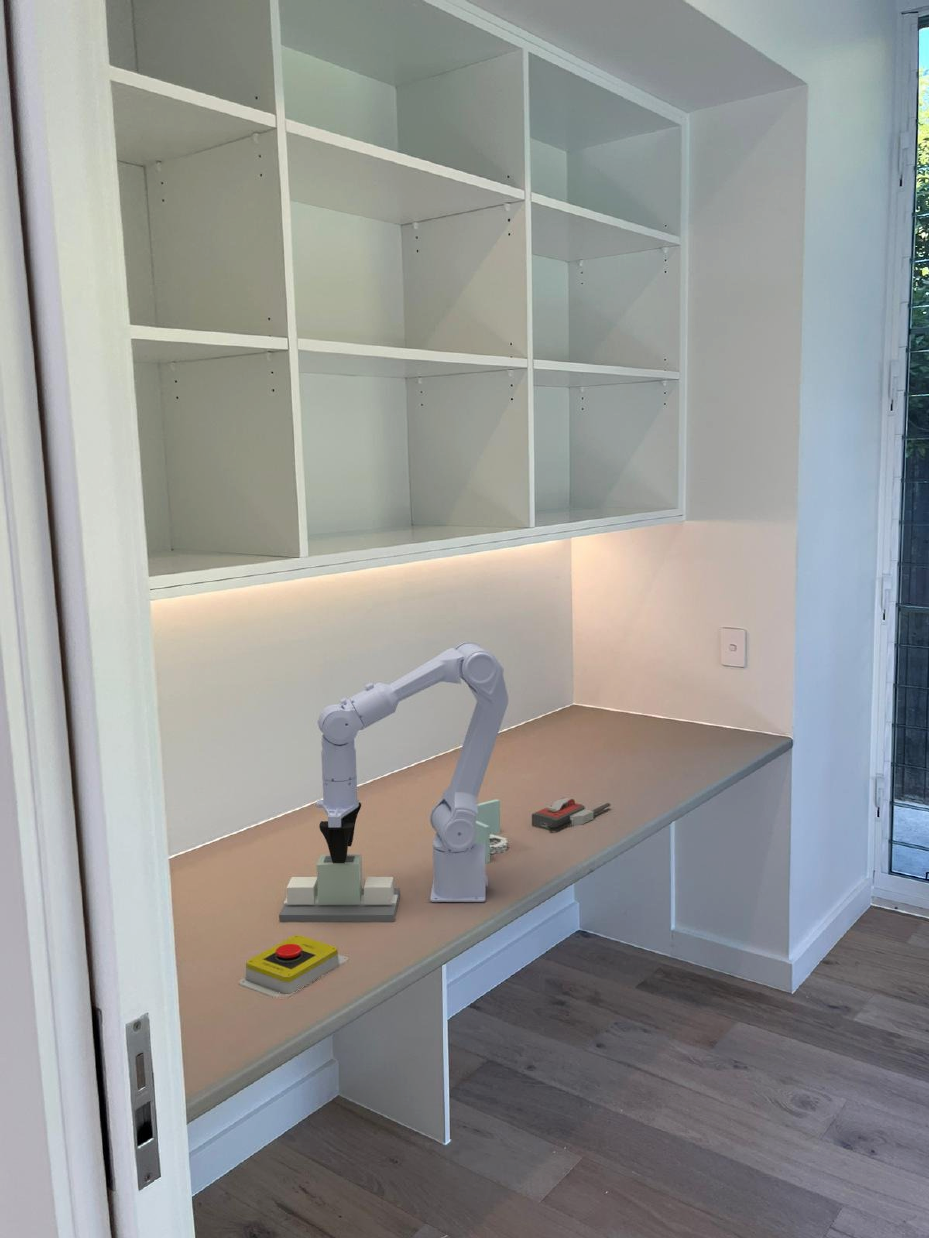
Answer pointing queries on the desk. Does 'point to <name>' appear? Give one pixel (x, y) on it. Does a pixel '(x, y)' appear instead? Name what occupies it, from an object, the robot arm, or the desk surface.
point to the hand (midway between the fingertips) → (342, 853)
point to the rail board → (372, 908)
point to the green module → (339, 880)
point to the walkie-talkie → (564, 815)
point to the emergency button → (290, 966)
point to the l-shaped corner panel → (490, 828)
